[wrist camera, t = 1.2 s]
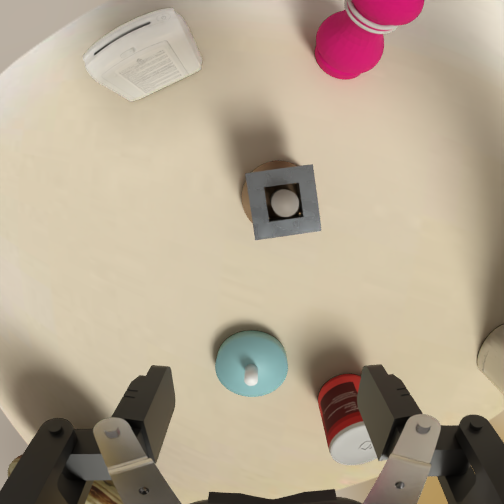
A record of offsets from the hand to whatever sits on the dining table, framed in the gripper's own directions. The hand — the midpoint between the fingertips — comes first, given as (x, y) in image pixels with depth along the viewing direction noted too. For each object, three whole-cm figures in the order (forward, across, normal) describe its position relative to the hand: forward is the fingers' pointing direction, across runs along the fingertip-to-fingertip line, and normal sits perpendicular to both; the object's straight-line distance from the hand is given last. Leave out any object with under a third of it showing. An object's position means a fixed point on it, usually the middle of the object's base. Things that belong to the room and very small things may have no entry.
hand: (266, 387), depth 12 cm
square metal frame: (+19, -2, -6) cm, 20 cm away
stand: (+25, -2, -6) cm, 26 cm away
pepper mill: (+26, -10, -23) cm, 36 cm away
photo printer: (+26, +12, -21) cm, 35 cm away
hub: (+25, +1, +14) cm, 29 cm away
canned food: (+25, -12, +21) cm, 35 cm away
